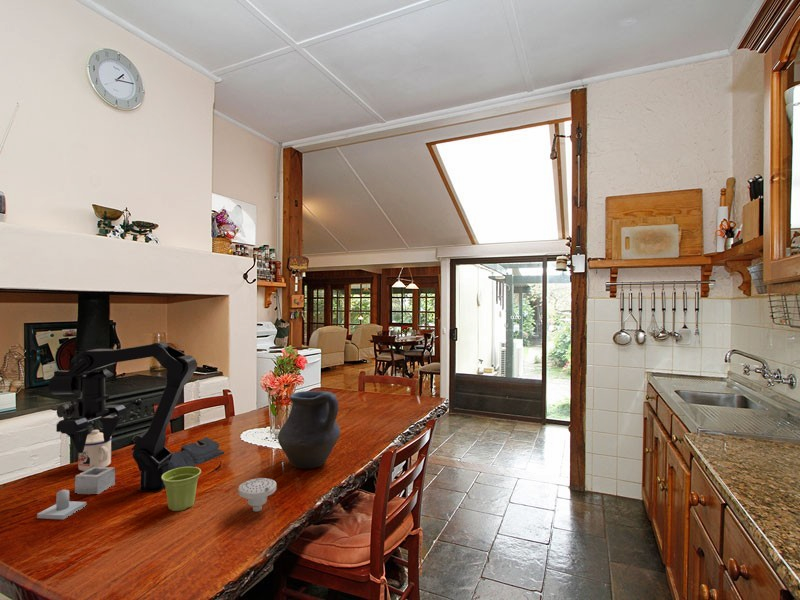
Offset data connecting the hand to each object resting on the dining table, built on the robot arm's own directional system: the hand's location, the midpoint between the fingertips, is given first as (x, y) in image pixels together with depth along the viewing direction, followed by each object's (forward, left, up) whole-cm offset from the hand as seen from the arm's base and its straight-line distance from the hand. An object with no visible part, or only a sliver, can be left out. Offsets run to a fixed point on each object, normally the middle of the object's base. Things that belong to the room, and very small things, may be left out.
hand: (93, 447), depth 122 cm
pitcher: (-57, -25, -12) cm, 63 cm away
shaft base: (-3, +13, -12) cm, 18 cm away
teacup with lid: (+11, -15, -12) cm, 22 cm away
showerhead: (-52, +7, -12) cm, 54 cm away
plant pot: (-31, +7, -12) cm, 34 cm away
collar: (-1, 0, -12) cm, 12 cm away
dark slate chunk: (-14, -24, -13) cm, 31 cm away
